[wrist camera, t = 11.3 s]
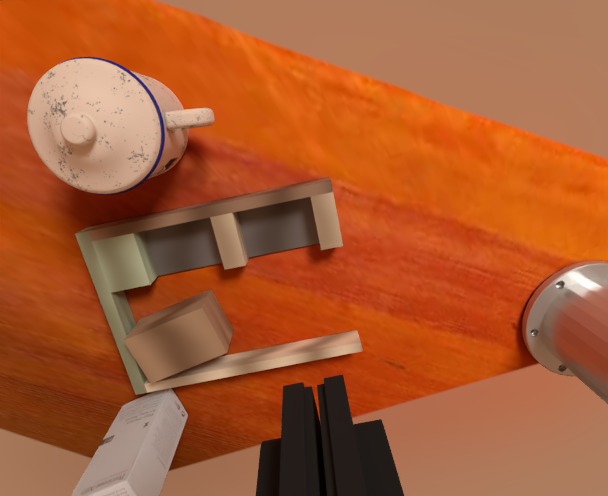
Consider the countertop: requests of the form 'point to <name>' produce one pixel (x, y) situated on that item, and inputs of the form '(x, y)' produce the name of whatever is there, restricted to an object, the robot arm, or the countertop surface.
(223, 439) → the countertop surface
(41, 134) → the teacup with lid
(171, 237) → the tray
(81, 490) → the skincare box
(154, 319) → the block
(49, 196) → the countertop surface
